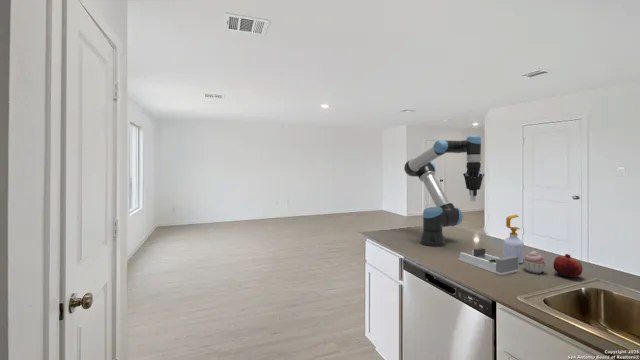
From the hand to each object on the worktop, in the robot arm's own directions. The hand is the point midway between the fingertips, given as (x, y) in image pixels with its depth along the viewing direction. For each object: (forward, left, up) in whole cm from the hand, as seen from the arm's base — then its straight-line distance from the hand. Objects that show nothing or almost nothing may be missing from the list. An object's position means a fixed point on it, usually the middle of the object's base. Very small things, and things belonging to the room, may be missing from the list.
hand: (472, 201), depth 174 cm
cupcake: (+38, -5, -30) cm, 48 cm away
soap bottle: (+24, +1, -30) cm, 38 cm away
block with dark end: (+24, -19, -28) cm, 42 cm away
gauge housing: (+23, -18, -29) cm, 41 cm away
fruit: (+48, +2, -30) cm, 56 cm away
